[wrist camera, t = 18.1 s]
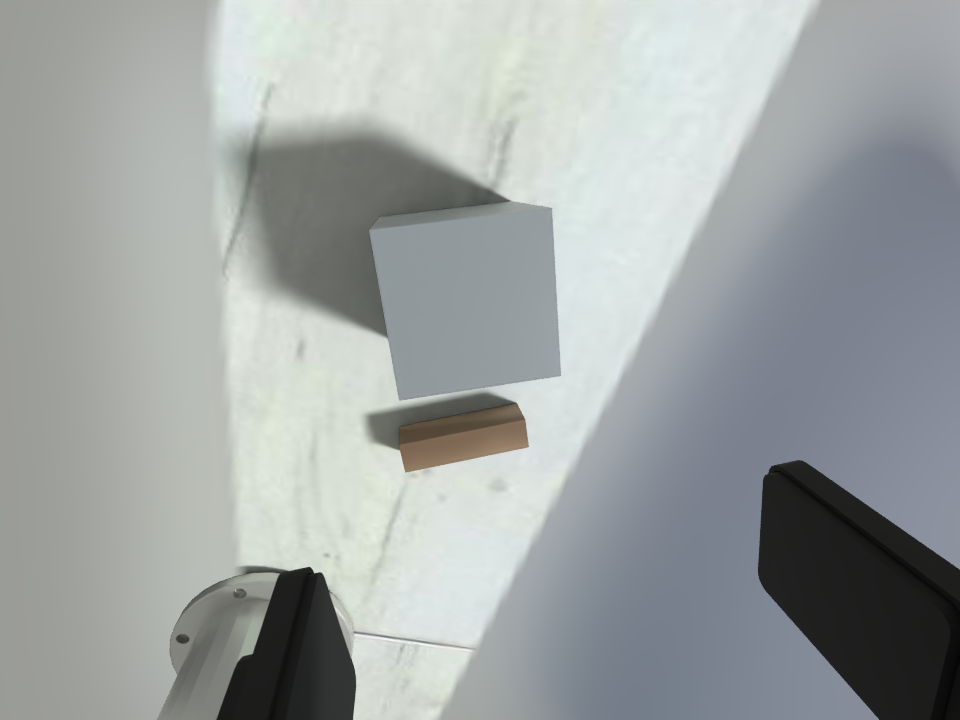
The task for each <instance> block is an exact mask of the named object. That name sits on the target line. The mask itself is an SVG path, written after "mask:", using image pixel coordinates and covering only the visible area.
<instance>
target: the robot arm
mask: <svg viewBox="0 0 960 720" xmlns="http://www.w3.org/2000/svg"><path fill="white" fill-rule="evenodd" d="M758 575H759V579H760V582H761V584H762V586H763V587H764V589H765V590H766V592H767V593H768V594H769V595H770V596H771V597H772V599H773V600H774V601H775V602H776V603H777V604H778V605H779V606H780V608H782V610H783V611H784V612H785V613H786V614H787V616H788V617H789V618H790V619H791V620H792V621H793V622H794V623H795V625H796V626H797V627H798V628H799V629H800V630H801V631H802V633H803V634H804V635H805V636H806V637H807V638H808V639H809V640H810V642H811V643H812V644H813V645H814V646H815V647H816V648H817V649H818V650H819V652H820V653H821V654H822V655H823V656H824V657H825V659H826V660H827V661H828V662H829V663H830V664H831V665H832V666H833V668H834V669H835V670H836V671H837V672H838V673H839V674H840V676H842V678H843V679H844V680H845V681H846V682H847V683H848V685H849V686H850V687H851V688H852V689H853V690H854V691H855V693H856V694H857V695H858V696H859V697H860V698H861V699H862V700H863V702H864V703H865V704H866V705H867V706H868V707H869V708H870V709H871V711H872V712H873V713H874V714H875V715H876V716H877V717H878V718H879V720H960V570H959V569H958V568H956V567H955V566H954V565H952V564H951V563H949V562H948V561H946V560H945V559H944V558H942V557H941V556H939V555H938V554H936V553H935V552H934V551H932V550H931V549H929V548H927V547H926V546H925V545H924V544H922V543H921V542H919V541H918V540H916V539H915V538H913V537H912V536H911V535H909V534H907V533H906V532H905V531H903V530H902V529H901V528H899V527H898V526H896V525H895V524H893V523H892V522H890V521H889V520H888V519H886V518H885V517H883V516H882V515H880V514H879V513H878V512H876V511H875V510H873V509H872V508H870V507H869V506H868V505H866V504H864V503H863V502H862V501H860V500H859V499H858V498H856V497H855V496H853V495H852V494H850V493H849V492H847V491H846V490H844V489H843V488H841V487H840V486H839V485H837V484H836V483H835V482H833V481H832V480H830V479H829V478H827V477H826V476H824V475H823V474H822V473H820V472H819V471H817V470H816V469H815V468H813V467H812V466H810V465H808V464H807V463H806V462H804V461H800V460H797V461H792V462H788V463H783V464H778V465H774V466H772V467H771V468H770V470H769V473H768V474H767V475H765V477H764V479H763V492H762V510H761V529H760V547H759V563H758ZM353 644H354V630H353V625H352V622H351V619H350V616H349V614H348V612H347V611H346V609H345V608H344V606H343V604H342V603H341V602H340V601H339V600H338V599H337V598H336V597H335V596H334V595H333V594H331V593H330V592H329V590H328V587H327V584H326V581H325V578H324V576H323V574H322V573H321V572H319V573H315V574H314V572H313V570H312V569H311V567H306V568H302V569H297V570H293V571H288V572H283V573H281V574H280V573H272V572H269V573H250V574H245V575H239V576H235V577H232V578H229V579H226V580H223V581H220V582H218V583H216V584H214V585H212V586H210V587H209V588H207V589H205V590H204V591H202V592H201V593H200V594H199V595H197V596H196V597H195V598H194V599H192V601H191V602H190V603H189V604H188V605H187V607H186V608H185V609H184V610H183V612H182V614H181V616H180V618H179V619H178V621H177V623H176V625H175V627H174V630H173V632H172V635H171V639H170V656H171V661H172V665H173V667H174V669H175V671H176V673H177V678H176V680H175V682H174V684H173V686H172V688H171V690H170V693H169V695H168V697H167V699H166V701H165V703H164V706H163V708H162V710H161V712H160V714H159V716H158V719H157V720H353V713H354V703H355V693H356V675H355V669H354V666H353V663H352V659H351V657H352V652H353Z"/></svg>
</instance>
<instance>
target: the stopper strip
mask: <svg viewBox="0 0 960 720" xmlns="http://www.w3.org/2000/svg"><path fill="white" fill-rule="evenodd" d="M527 447H529V445H528V438H527V430H526V423H525V418H524V416H523V414H522V412H521V410H520V408H519V406H518V404H517V403H516V404H511V405H506V406H501V407H496V408H491V409H486V410H481V411H476V412H471V413H466V414H461V415H456V416H451V417H446V418H440V419H435V420H430V421H425V422H420V423H415V424H410V425H405V426H400V427H399V448H400V452H401V456H402V460H403V465H404V469H405V473H406V472H411V471H415V470H420V469H425V468H430V467H435V466H440V465H444V464H449V463H454V462H459V461H464V460H469V459H474V458H478V457H483V456H488V455H493V454H498V453H503V452H507V451H512V450H517V449H522V448H527Z"/></svg>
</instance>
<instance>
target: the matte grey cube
mask: <svg viewBox="0 0 960 720" xmlns="http://www.w3.org/2000/svg"><path fill="white" fill-rule="evenodd" d="M369 233H370V239H371V245H372V250H373V256H374V262H375V267H376V273H377V278H378V284H379V290H380V295H381V301H382V307H383V312H384V318H385V324H386V329H387V335H388V340H389V346H390V352H391V357H392V363H393V369H394V374H395V380H396V386H397V391H398V397H399V401H400V400H406V399H413V398H419V397H426V396H432V395H439V394H445V393H452V392H458V391H465V390H472V389H478V388H485V387H491V386H498V385H504V384H511V383H517V382H524V381H530V380H537V379H543V378H550V377H557V376H561V368H560V350H559V331H558V312H557V294H556V275H555V257H554V238H553V219H552V208H549V207H543V206H537V205H531V204H525V203H519V202H513V201H509V202H500V203H492V204H483V205H475V206H466V207H458V208H450V209H441V210H433V211H424V212H416V213H407V214H399V215H390V216H382V217H379V218H378V219H377V221H376V222H375V223H374V224H373V226H372V227H371V228H370V229H369Z"/></svg>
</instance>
